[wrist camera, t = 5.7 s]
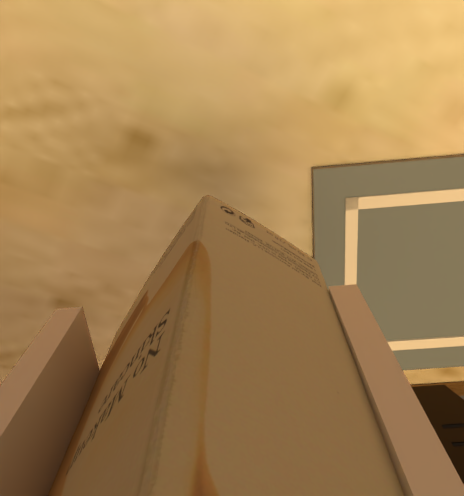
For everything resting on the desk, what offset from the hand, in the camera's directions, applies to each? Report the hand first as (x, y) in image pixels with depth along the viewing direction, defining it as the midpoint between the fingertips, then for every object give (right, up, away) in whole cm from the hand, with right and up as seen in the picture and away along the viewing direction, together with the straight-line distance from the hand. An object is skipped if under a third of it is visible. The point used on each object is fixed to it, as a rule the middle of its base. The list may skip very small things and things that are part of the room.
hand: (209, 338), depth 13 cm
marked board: (+14, +1, +18) cm, 23 cm away
